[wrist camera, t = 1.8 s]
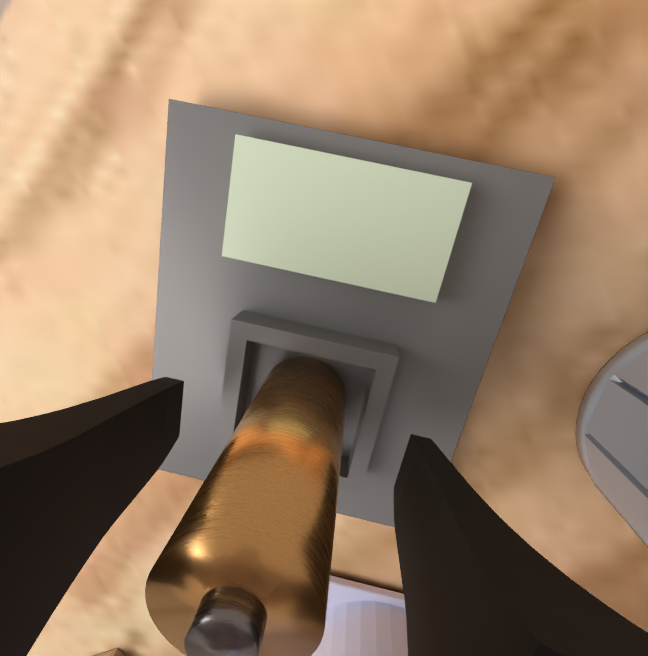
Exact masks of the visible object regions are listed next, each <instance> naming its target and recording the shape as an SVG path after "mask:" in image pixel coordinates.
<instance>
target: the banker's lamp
mask: <svg viewBox="0 0 648 656" xmlns="http://www.w3.org/2000/svg"><path fill="white" fill-rule="evenodd" d="M95 656H124V654H123V653H122V652H121V651H120V650H119V649H118V648H116V649H113V650H110V651H107V652H104V653H101V654H98V655H95Z"/></svg>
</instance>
